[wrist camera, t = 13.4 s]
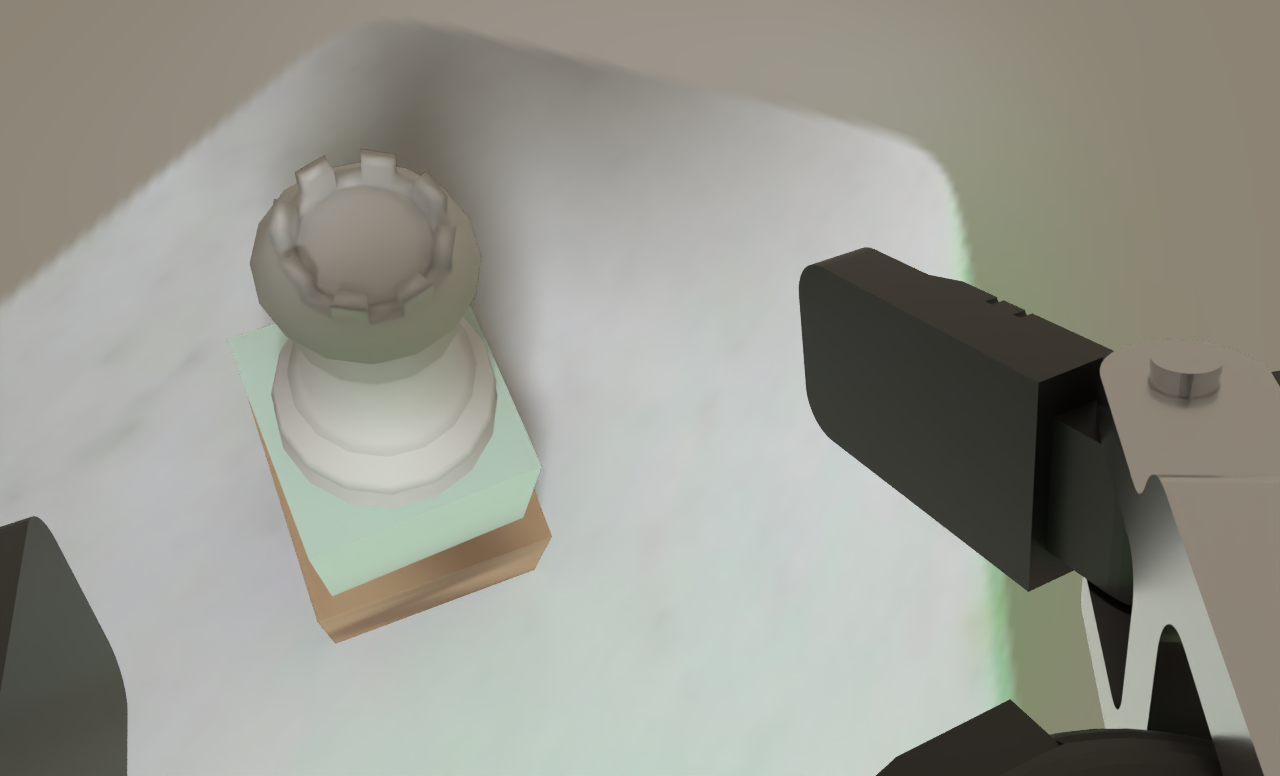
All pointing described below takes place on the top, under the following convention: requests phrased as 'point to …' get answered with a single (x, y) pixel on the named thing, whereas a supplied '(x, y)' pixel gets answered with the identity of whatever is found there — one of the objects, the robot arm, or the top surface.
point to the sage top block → (377, 536)
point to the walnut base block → (421, 573)
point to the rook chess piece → (375, 331)
